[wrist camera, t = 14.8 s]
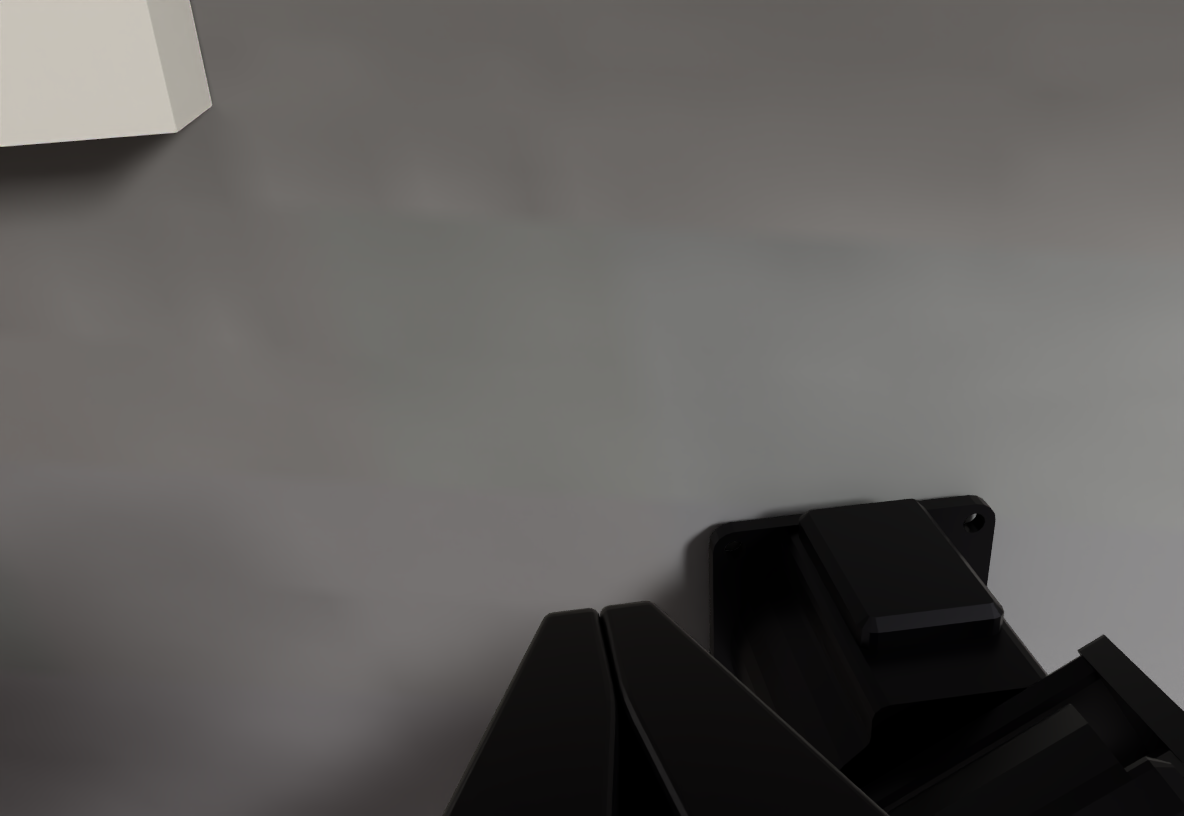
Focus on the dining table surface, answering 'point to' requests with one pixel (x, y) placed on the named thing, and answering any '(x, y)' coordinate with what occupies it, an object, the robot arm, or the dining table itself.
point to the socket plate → (98, 69)
